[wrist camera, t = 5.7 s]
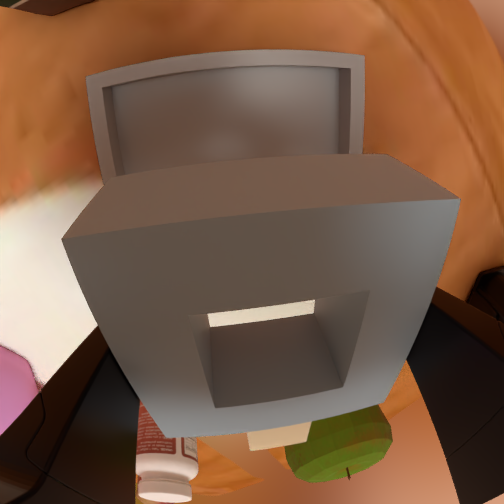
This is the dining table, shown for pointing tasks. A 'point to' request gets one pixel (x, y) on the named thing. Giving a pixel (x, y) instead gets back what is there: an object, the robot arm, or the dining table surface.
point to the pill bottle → (164, 462)
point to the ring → (262, 286)
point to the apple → (341, 445)
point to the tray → (226, 108)
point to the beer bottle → (42, 5)
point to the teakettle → (14, 387)
